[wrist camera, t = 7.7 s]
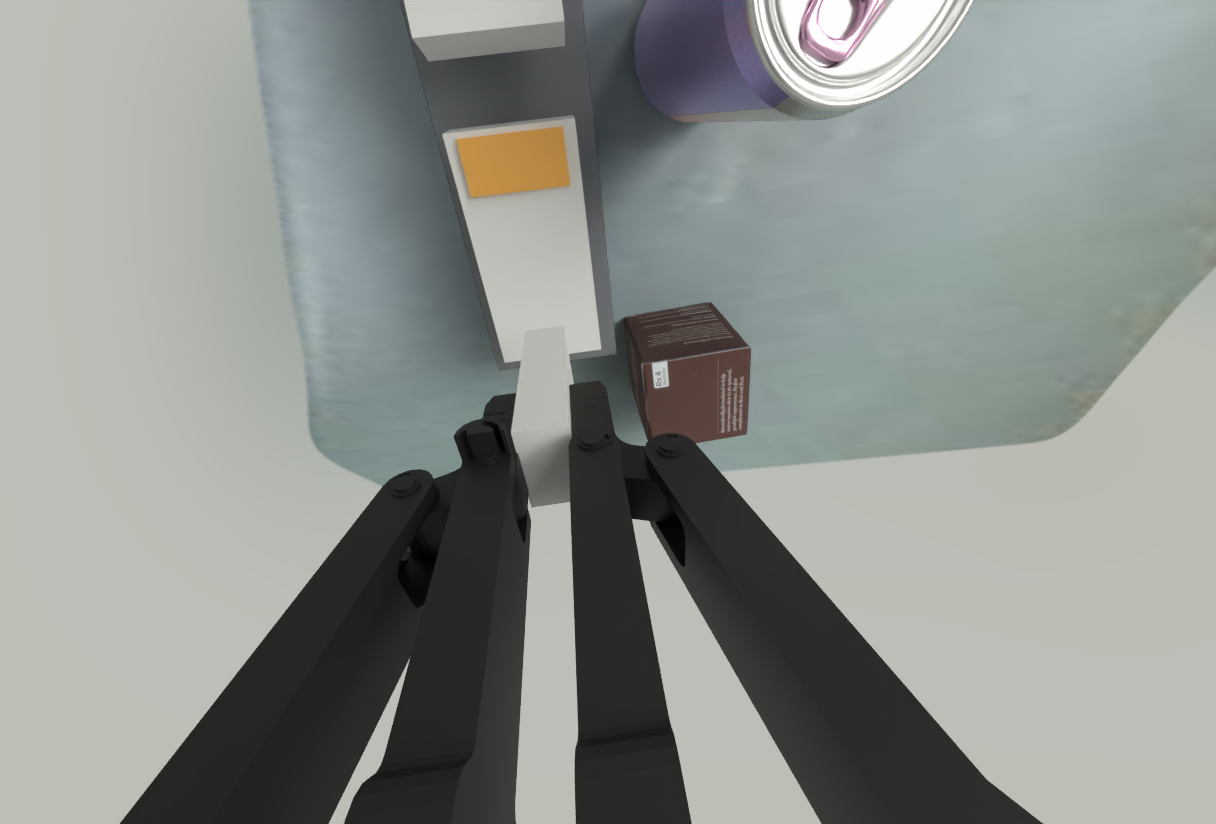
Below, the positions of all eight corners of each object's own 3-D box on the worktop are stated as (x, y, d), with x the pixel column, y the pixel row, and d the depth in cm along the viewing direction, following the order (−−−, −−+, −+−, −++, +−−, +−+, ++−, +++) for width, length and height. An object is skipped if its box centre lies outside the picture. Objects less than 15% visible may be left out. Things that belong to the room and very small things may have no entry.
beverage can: (611, 86, 22) (689, 38, 10) (667, -64, 20) (872, -393, 7) (709, 143, 24) (879, 163, 12) (773, 13, 22) (1081, -142, 9)
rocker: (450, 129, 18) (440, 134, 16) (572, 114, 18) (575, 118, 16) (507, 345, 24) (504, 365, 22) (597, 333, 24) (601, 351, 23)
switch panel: (341, -312, 15) (268, -465, 11) (540, -328, 16) (537, -483, 12) (504, 342, 29) (497, 377, 25) (609, 328, 29) (618, 360, 25)
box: (711, 378, 33) (748, 437, 26) (631, 392, 32) (649, 454, 26) (711, 299, 29) (754, 345, 23) (622, 313, 29) (641, 364, 23)
